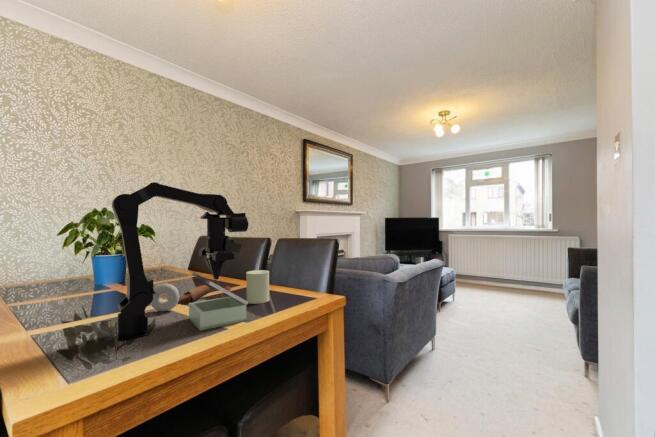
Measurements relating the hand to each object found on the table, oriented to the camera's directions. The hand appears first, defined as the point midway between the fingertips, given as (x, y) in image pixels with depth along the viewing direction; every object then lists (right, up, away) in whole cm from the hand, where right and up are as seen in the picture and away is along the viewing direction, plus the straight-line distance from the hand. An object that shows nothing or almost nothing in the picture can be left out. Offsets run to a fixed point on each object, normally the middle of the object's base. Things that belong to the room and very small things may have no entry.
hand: (216, 279), depth 97 cm
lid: (+1, -3, -3) cm, 4 cm away
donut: (-21, -13, +7) cm, 26 cm away
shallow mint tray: (+1, -13, -3) cm, 13 cm away
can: (+9, -13, +20) cm, 25 cm away
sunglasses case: (-20, -14, +25) cm, 34 cm away
